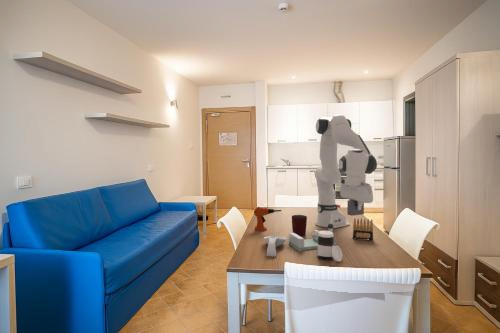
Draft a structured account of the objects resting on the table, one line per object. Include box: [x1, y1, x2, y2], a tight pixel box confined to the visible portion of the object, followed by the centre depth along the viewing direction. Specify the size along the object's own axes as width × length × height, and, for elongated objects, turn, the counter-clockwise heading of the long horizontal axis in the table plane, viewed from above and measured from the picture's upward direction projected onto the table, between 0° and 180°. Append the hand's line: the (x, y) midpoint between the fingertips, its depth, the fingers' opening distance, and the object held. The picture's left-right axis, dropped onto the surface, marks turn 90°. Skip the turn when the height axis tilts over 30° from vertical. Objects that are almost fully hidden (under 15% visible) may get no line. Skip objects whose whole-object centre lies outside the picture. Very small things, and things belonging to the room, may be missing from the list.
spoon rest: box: [263, 235, 287, 257], centre depth 148 cm, size 24×12×7 cm, turn 171°
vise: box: [288, 232, 337, 252], centre depth 153 cm, size 22×11×6 cm, turn 109°
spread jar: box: [316, 230, 343, 262], centre depth 135 cm, size 12×11×12 cm
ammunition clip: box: [352, 217, 374, 241], centre depth 163 cm, size 11×2×12 cm, turn 72°
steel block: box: [346, 199, 365, 216], centre depth 144 cm, size 8×3×7 cm, turn 109°
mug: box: [291, 214, 308, 238], centre depth 173 cm, size 12×9×11 cm
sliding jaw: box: [311, 224, 335, 241], centre depth 156 cm, size 10×11×9 cm
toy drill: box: [253, 206, 282, 232], centre depth 180 cm, size 5×19×15 cm, turn 67°
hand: (355, 209), depth 144 cm, fingers closed on steel block, 3 cm apart
